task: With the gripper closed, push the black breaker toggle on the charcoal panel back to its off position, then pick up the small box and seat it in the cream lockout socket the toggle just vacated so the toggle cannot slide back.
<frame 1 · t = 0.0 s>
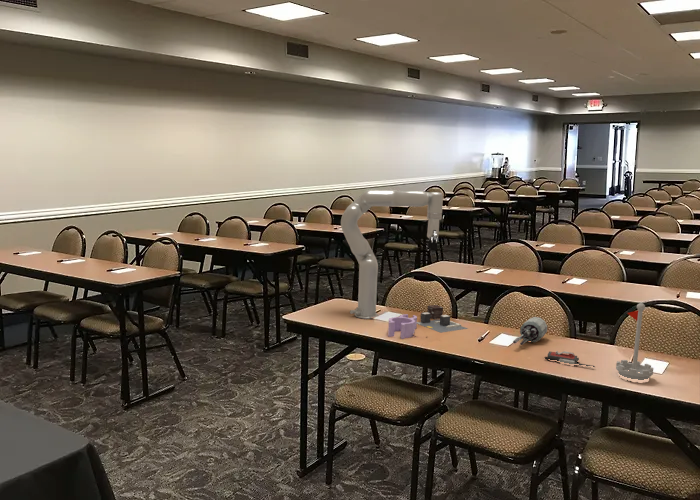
hand: (432, 249, 307), 37 cm above the table, tool pointing down, fingers open, 9 cm apart
flag stand: (633, 378, 231), on the table
device: (528, 344, 273), on the table
panel: (440, 327, 295), on the table
walkie-talkie: (569, 364, 247), on the table
breaker B: (425, 317, 300), point 4 cm above the table, slide at 0.0 cm
box: (434, 320, 311), on the table
breaker A: (444, 320, 296), point 4 cm above the table, slide at 0.0 cm
clip: (403, 333, 283), on the table
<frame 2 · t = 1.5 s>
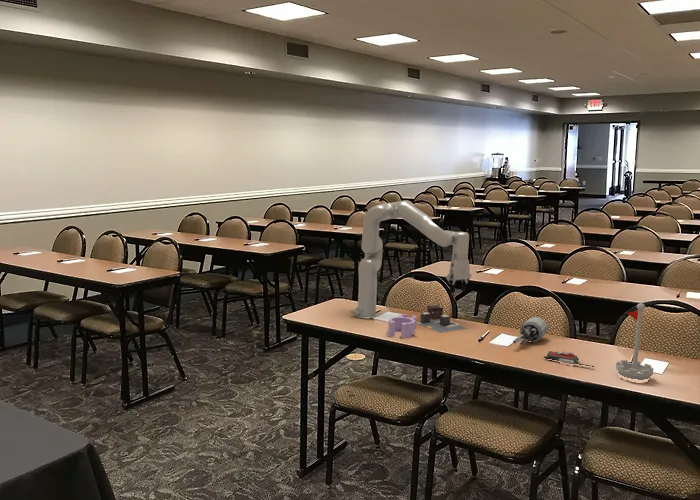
hand: (457, 291, 298), 18 cm above the table, tool pointing down, fingers open, 7 cm apart
nothing on the table moved.
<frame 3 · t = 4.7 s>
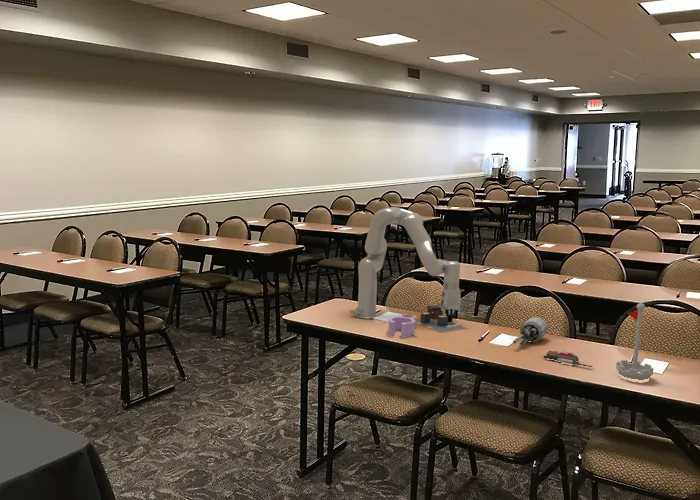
hand: (448, 321, 298), 3 cm above the table, tool pointing down, fingers closed
breaker A: (442, 320, 295), point 4 cm above the table, slide at 1.6 cm, touching gripper
everything else where it was.
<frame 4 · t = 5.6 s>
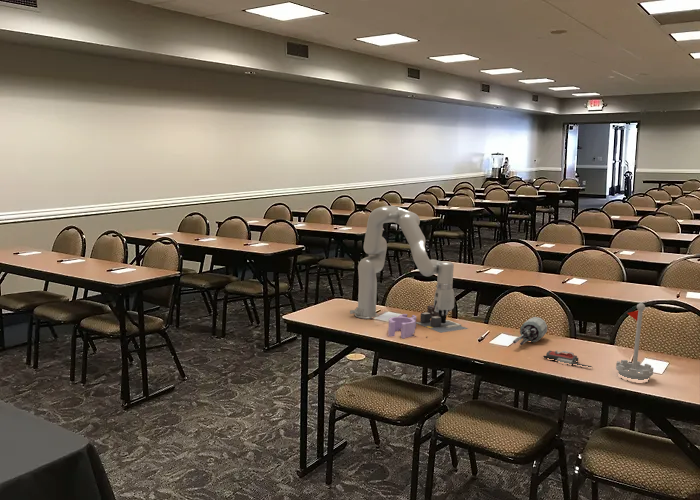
hand: (442, 322, 295), 3 cm above the table, tool pointing down, fingers closed
breaker A: (436, 321, 293), point 4 cm above the table, slide at 5.9 cm, touching gripper
everything else where it was.
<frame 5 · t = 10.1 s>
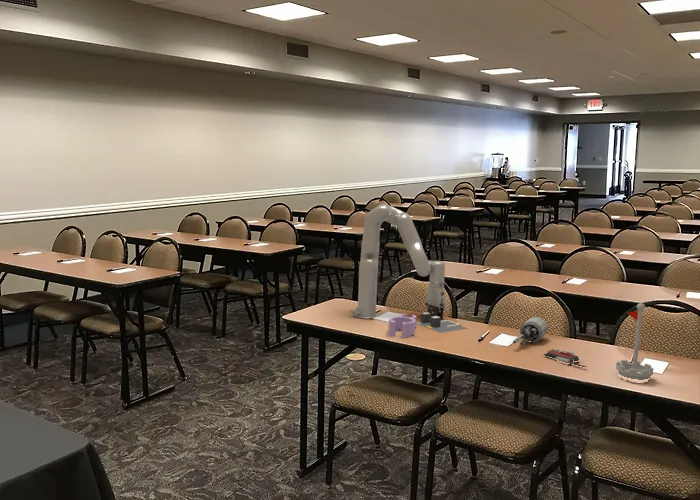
hand: (434, 317, 311), 1 cm above the table, tool pointing down, fingers open, 7 cm apart
breaker A: (435, 321, 293), point 4 cm above the table, slide at 6.3 cm
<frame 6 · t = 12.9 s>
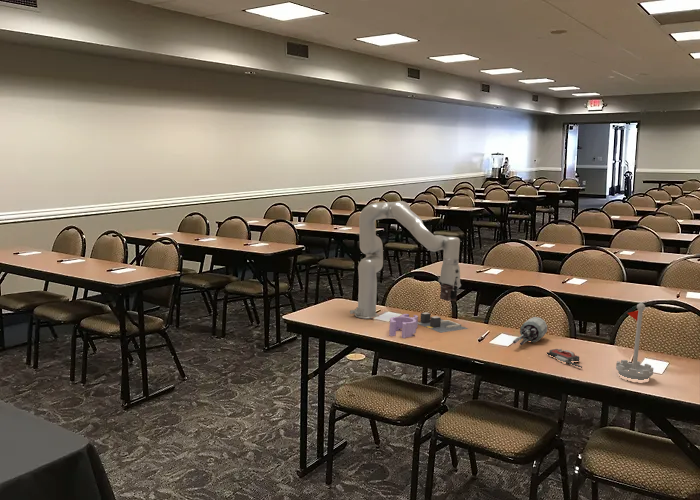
hand: (448, 296, 295), 15 cm above the table, tool pointing down, fingers closed on box, 6 cm apart
box: (448, 299, 295), point 14 cm above the table, touching gripper
when the fingers open (3 cm above the table, at t = 15.5 s): box stays where it is, resting on panel.
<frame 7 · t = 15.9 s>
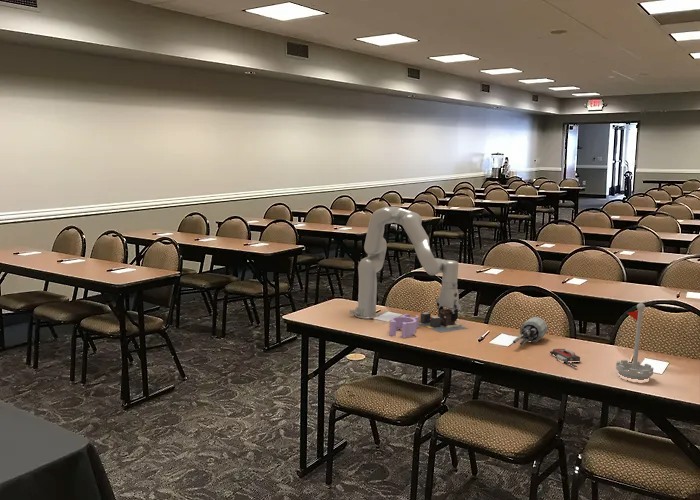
hand: (447, 318, 297), 4 cm above the table, tool pointing down, fingers open, 9 cm apart
box: (446, 325, 297), point 1 cm above the table, touching panel
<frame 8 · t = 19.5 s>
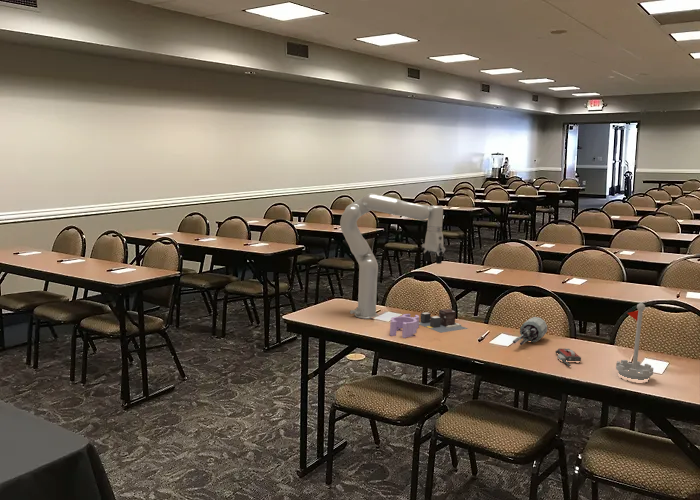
hand: (432, 262, 309), 30 cm above the table, tool pointing down, fingers open, 9 cm apart
at the end: breaker A slide at 6.3 cm; box 0.2 cm from the target spot, point 1.0 cm above the table; box tilted 0° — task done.
